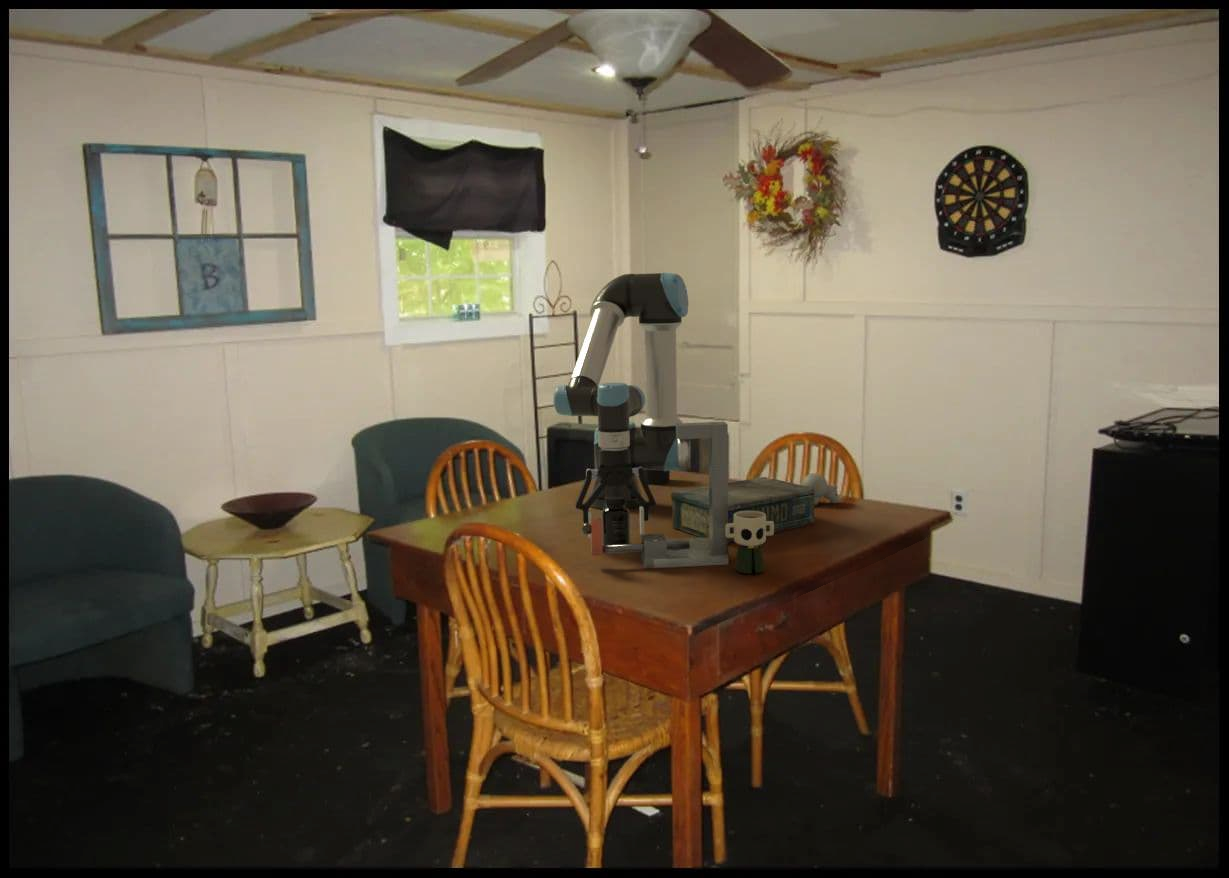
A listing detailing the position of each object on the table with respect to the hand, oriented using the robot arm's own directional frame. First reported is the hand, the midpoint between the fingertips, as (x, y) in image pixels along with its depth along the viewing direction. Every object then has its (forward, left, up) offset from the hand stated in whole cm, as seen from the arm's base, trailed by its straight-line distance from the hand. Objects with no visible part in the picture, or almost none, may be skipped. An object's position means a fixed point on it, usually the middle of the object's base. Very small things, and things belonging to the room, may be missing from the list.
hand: (616, 535), depth 242 cm
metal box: (-12, +34, -3) cm, 36 cm away
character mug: (+26, +27, -3) cm, 38 cm away
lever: (+17, +3, +1) cm, 17 cm away
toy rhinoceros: (-32, +60, -3) cm, 68 cm away
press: (+12, +15, -2) cm, 19 cm away
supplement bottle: (0, 0, -3) cm, 3 cm away
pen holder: (-69, +19, -3) cm, 72 cm away
